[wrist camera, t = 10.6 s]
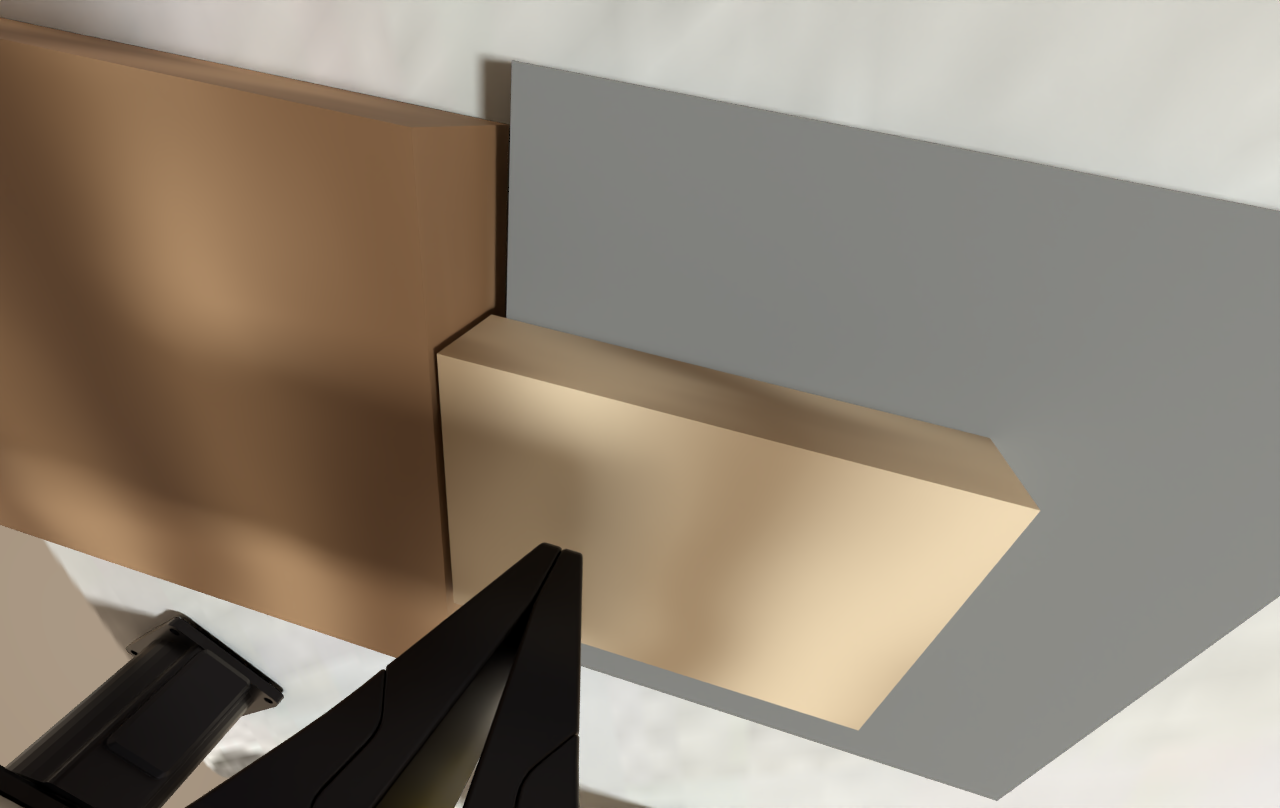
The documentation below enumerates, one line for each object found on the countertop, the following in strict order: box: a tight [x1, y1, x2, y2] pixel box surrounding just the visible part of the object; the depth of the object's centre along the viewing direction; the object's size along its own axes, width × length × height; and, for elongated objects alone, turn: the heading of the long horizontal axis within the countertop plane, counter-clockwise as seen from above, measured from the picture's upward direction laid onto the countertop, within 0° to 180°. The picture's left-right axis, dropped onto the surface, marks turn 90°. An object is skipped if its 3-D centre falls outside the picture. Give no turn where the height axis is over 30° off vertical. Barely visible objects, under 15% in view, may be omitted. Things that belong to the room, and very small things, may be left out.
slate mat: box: [506, 60, 1280, 801], centre depth 12 cm, size 16×16×1 cm
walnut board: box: [0, 18, 509, 658], centre depth 12 cm, size 17×14×3 cm
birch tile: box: [437, 314, 1040, 730], centre depth 11 cm, size 10×7×2 cm
